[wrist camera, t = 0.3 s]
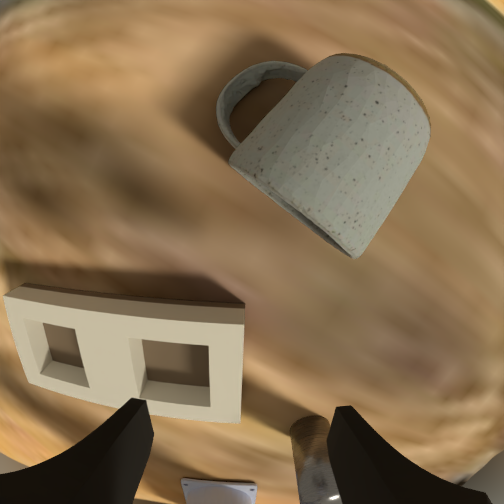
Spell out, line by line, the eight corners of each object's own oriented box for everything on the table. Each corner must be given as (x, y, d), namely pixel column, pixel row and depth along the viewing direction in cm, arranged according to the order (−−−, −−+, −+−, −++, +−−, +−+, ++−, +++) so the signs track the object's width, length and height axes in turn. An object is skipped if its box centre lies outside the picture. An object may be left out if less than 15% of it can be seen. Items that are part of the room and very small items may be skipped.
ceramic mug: (400, 145, 17) (473, 130, 9) (330, 244, 18) (376, 283, 11) (268, 46, 16) (275, -24, 8) (190, 144, 17) (146, 118, 10)
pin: (325, 439, 23) (343, 508, 15) (287, 442, 23) (296, 514, 15) (333, 414, 22) (356, 487, 14) (292, 416, 22) (305, 494, 14)
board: (241, 396, 21) (240, 423, 18) (45, 365, 21) (28, 382, 18) (245, 303, 19) (244, 324, 16) (24, 283, 19) (2, 295, 16)
